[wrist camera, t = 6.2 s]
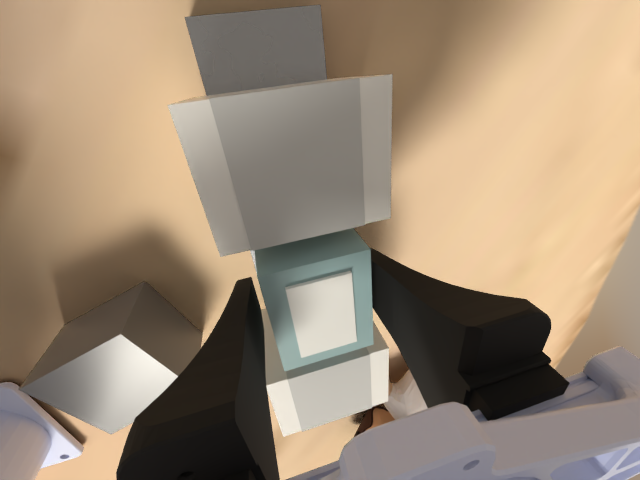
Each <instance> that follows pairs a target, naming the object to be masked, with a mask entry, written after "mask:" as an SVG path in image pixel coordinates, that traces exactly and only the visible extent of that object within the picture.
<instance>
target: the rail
mask: <svg viewBox="0 0 640 480" xmlns="http://www.w3.org/2000/svg"><path fill="white" fill-rule="evenodd" d="M185 20H186V24H187V27H188V31H189V35H190V38H191V42H192V45H193V49H194V52H195V56H196V59H197V63H198V67H199V70H200V74H201V77H202V81H203V84H204V88H205V91H206V95H207V96H208V95H215V94H223V93H230V92H237V91H245V90H252V89H259V88H267V87H274V86H281V85H289V84H296V83H304V82H311V81H318V80H326V79H327V74H326V62H325V51H324V40H323V28H322V17H321V6H320V5H311V6H300V7H289V8H278V9H267V10H256V11H245V12H234V13H223V14H212V15H202V16H191V17H185ZM250 251H251V250H250ZM251 255H252V258H253V262H254V265H255V269H256V260H255V251H251ZM256 272H257V269H256Z"/></svg>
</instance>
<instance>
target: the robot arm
mask: <svg viewBox="0 0 640 480" xmlns="http://www.w3.org/2000/svg"><path fill="white" fill-rule="evenodd" d="M370 249H371V279H372V307H373V309H374V310H375V312H376V313H377V315H378V316H379V318H380V319H381V321H382V322H383V324H384V326H385V327H386V329H387V330H388V332H389V333H390V335H391V336H392V338H393V339H394V341H395V343H396V344H397V346H398V348H399V350H400V352H401V354H402V356H403V358H404V360H405V362H406V364H407V366H408V368H409V370H410V372H411V374H412V376H413V378H414V380H415V382H416V384H417V386H418V388H419V390H420V393H421V395H422V397H423V399H424V401H425V403H426V406H427V408H428V409H425V410H422V411H419V412H416V413H414V414H411V415H408V416H405V417H402V418H399V419H397V420H394V421H391V422H388V423H385V424H382V425H380V426H377V427H374V428H371V429H369V430H367V431H365V432H363V433H361V434H359V435H357V436H355V437H354V438H352V439H351V440H350V441H349V442H348V443H347V444H346V445H345V446H344V447H343V450H342V452H341V455H340V459H339V460H338V461H336V462H333V463H330V464H327V465H325V466H322V467H319V468H317V469H314V470H311V471H308V472H306V473H303V474H300V475H297V476H295V477H292V478H289V479H286V480H627V479H629V478H631V477H633V476H635V475H637V474H639V473H640V358H638V357H636V356H635V355H634V354H632V353H631V352H629V351H628V350H626V349H625V348H623V347H621V346H618V347H615V348H612V349H609V350H607V351H604V352H601V353H598V354H596V355H594V356H592V357H591V358H590V359H589V360H588V361H587V362H586V364H585V366H584V368H583V372H580V373H577V374H575V375H572V376H569V377H566V378H564V377H562V376H561V375H560V374H559V373H558V372H557V371H556V370H555V369H553V368H552V367H551V366H550V365H549V363H550V362H551V359H550V358H549V357H548V356H547V355H546V354H545V353H544V352H542V350H543V348H544V345H545V343H546V341H547V338H548V336H549V334H550V330H551V319H550V318H549V316H548V315H547V314H545V313H544V312H543V311H541V310H540V309H539V308H537V307H536V306H535V305H533V304H532V303H531V302H529V301H528V300H526V299H521V298H514V297H506V296H499V295H493V294H488V293H483V292H478V291H474V290H470V289H466V288H462V287H459V286H455V285H451V284H448V283H445V282H442V281H439V280H437V279H434V278H431V277H429V276H426V275H424V274H421V273H419V272H417V271H415V270H412V269H410V268H408V267H406V266H404V265H402V264H400V263H398V262H396V261H395V260H393V259H391V258H389V257H387V256H385V255H383V254H382V253H380V252H378V251H376V250H374V249H372V248H370ZM19 388H20V387H19V386H18V385H17V384H15V383H12V382H3V383H0V480H35V478H36V476H37V474H38V472H39V470H40V469H41V468H44V467H47V466H50V465H54V464H57V463H60V462H63V461H66V460H70V459H73V458H76V457H78V456H80V455H81V454H82V452H83V450H84V447H83V445H81V444H80V443H79V442H78V441H77V440H76V439H75V438H74V437H73V436H72V435H71V434H70V433H69V432H67V431H66V430H65V429H64V428H63V427H62V426H61V425H60V424H59V423H58V422H57V421H56V420H55V419H53V418H52V417H51V416H50V415H49V414H48V413H47V412H46V411H45V410H44V409H43V408H42V407H41V406H39V405H38V404H37V403H36V402H35V401H34V400H33V399H32V398H31V397H30V396H29V395H28V394H26V393H24V392H22V391H20V390H18V389H19ZM116 474H117V480H280V478H279V472H278V465H277V459H276V452H275V445H274V438H273V432H272V424H271V417H270V410H269V402H268V395H267V387H266V370H265V337H264V325H263V319H262V312H261V308H260V305H259V301H258V298H257V295H256V291H255V288H254V285H253V281H252V278H251V277H249V278H245V279H241V280H238V281H237V282H236V284H235V286H234V289H233V292H232V294H231V296H230V299H229V301H228V303H227V305H226V307H225V309H224V311H223V313H222V315H221V317H220V319H219V321H218V322H217V324H216V326H215V328H214V329H213V331H212V333H211V334H210V336H209V337H208V339H207V341H206V342H205V343H204V345H203V346H202V348H201V349H200V350H199V352H198V353H197V354H196V356H195V357H194V358H193V360H192V361H191V362H190V363H189V364H188V366H187V367H186V368H185V369H184V370H183V372H182V373H181V374H180V375H179V376H178V377H177V378H176V379H175V380H174V381H173V382H172V383H171V384H170V385H169V387H168V388H167V389H166V390H165V391H164V392H163V393H162V394H161V395H159V396H158V397H157V398H156V399H155V400H154V401H153V402H152V403H151V404H150V405H149V406H148V407H147V408H145V409H144V410H143V411H142V412H141V413H140V414H139V415H138V416H137V417H135V420H134V422H133V425H132V427H131V429H130V432H129V434H128V437H127V440H126V443H125V446H124V449H123V453H122V456H121V459H120V462H119V466H118V469H117V472H116Z"/></svg>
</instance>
